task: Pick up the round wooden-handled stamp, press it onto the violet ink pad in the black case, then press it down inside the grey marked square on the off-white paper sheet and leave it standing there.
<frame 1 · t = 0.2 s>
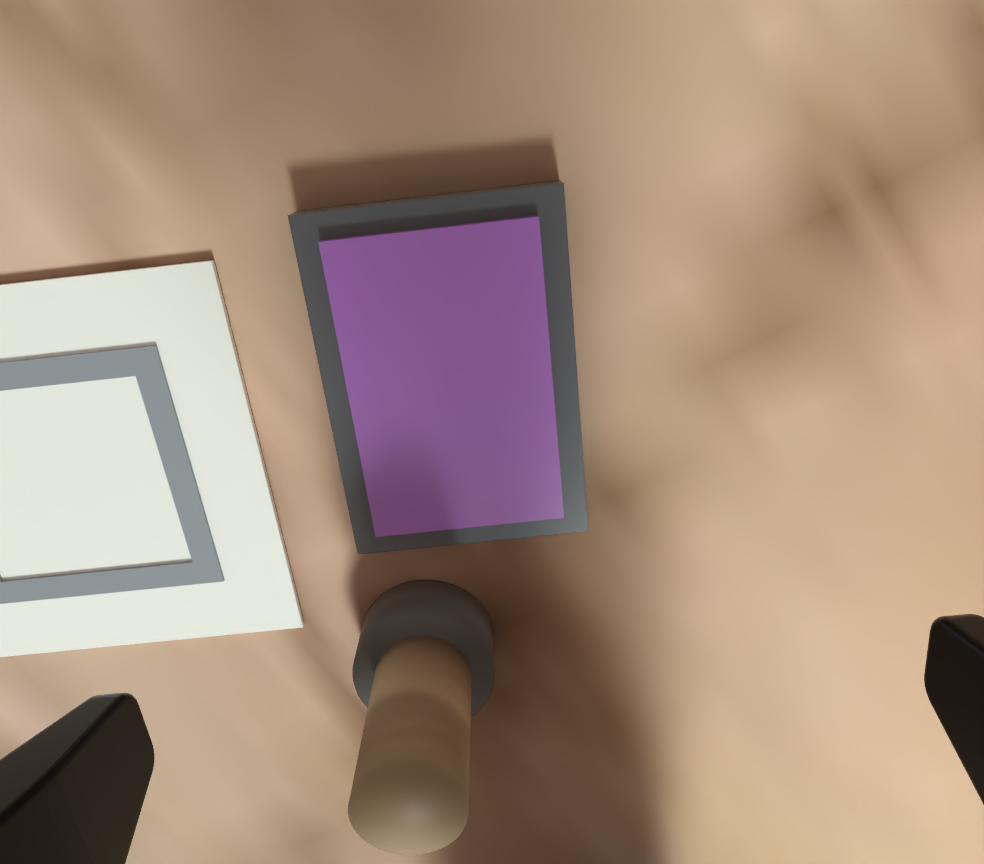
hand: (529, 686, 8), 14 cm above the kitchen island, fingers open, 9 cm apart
stamp: (428, 635, 25), on the kitchen island
sheet: (69, 480, 23), on the kitchen island
ink pad: (452, 375, 22), on the kitchen island
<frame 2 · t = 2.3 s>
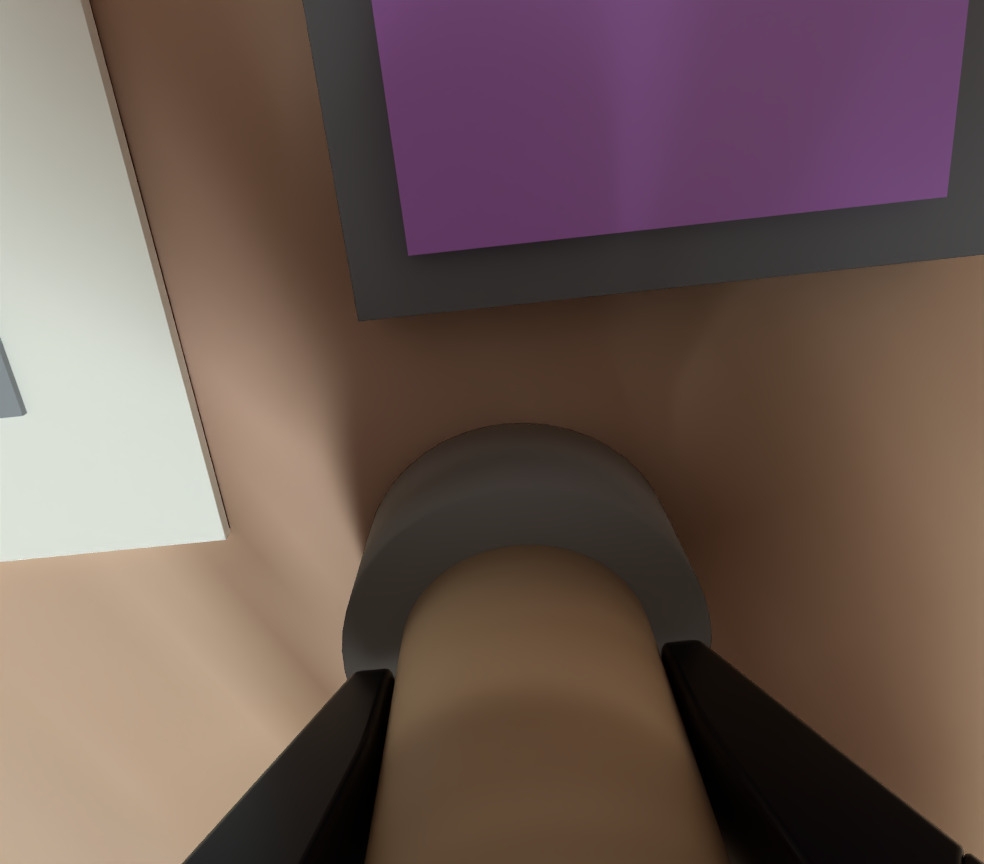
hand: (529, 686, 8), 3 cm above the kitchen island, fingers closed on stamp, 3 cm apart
stamp: (519, 565, 11), on the kitchen island, touching gripper
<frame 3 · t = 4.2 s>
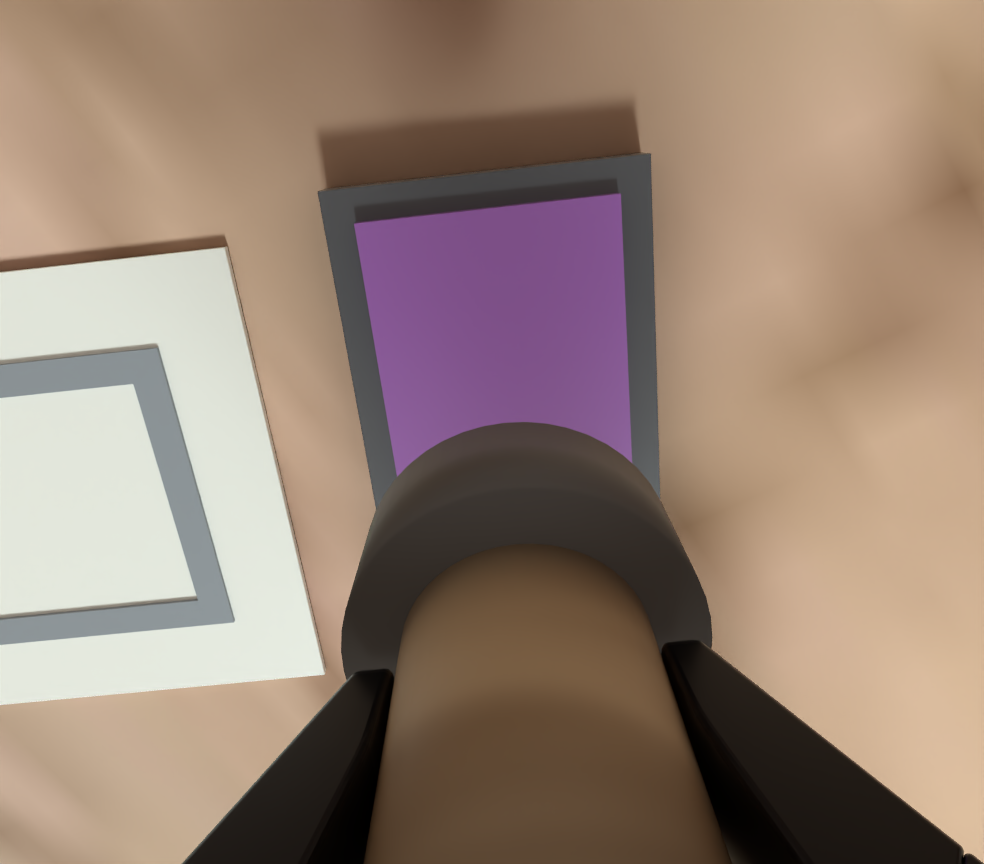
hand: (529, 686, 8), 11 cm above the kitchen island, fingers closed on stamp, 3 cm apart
stamp: (519, 564, 11), point 8 cm above the kitchen island, touching gripper
sheet: (55, 505, 20), on the kitchen island
ink pad: (505, 384, 18), on the kitchen island
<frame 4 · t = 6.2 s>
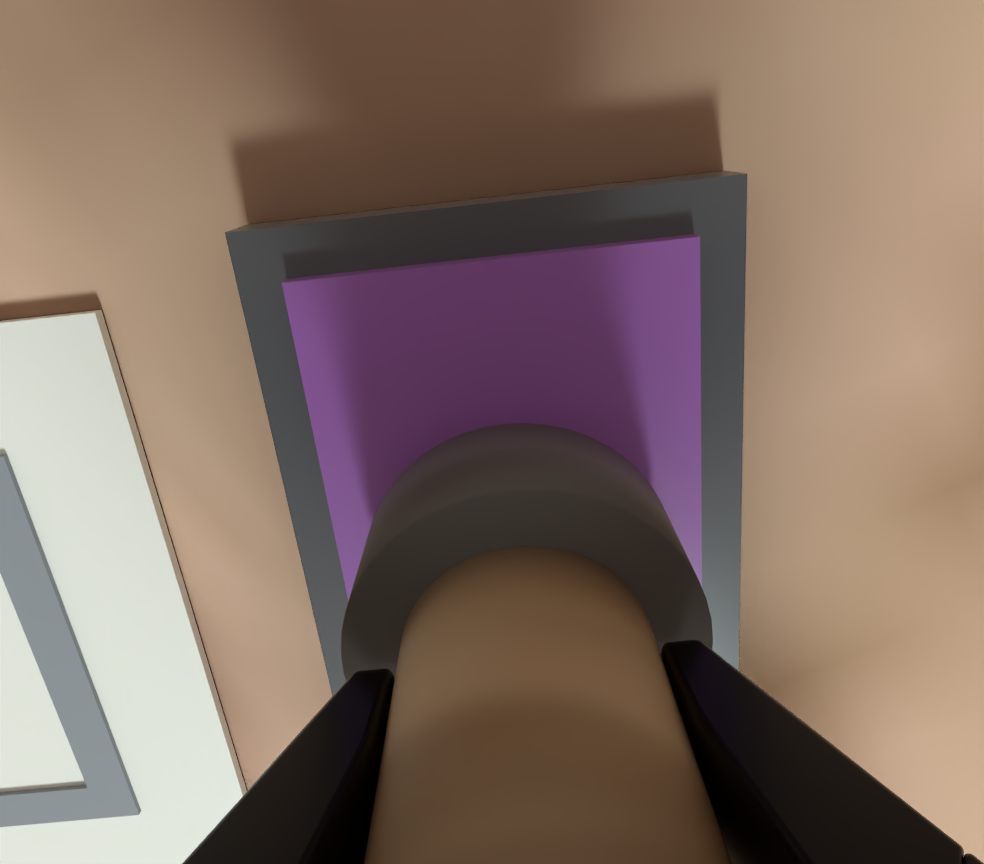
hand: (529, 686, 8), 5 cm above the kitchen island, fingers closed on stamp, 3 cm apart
stamp: (519, 566, 11), point 2 cm above the kitchen island, touching gripper
ink pad: (516, 503, 13), on the kitchen island
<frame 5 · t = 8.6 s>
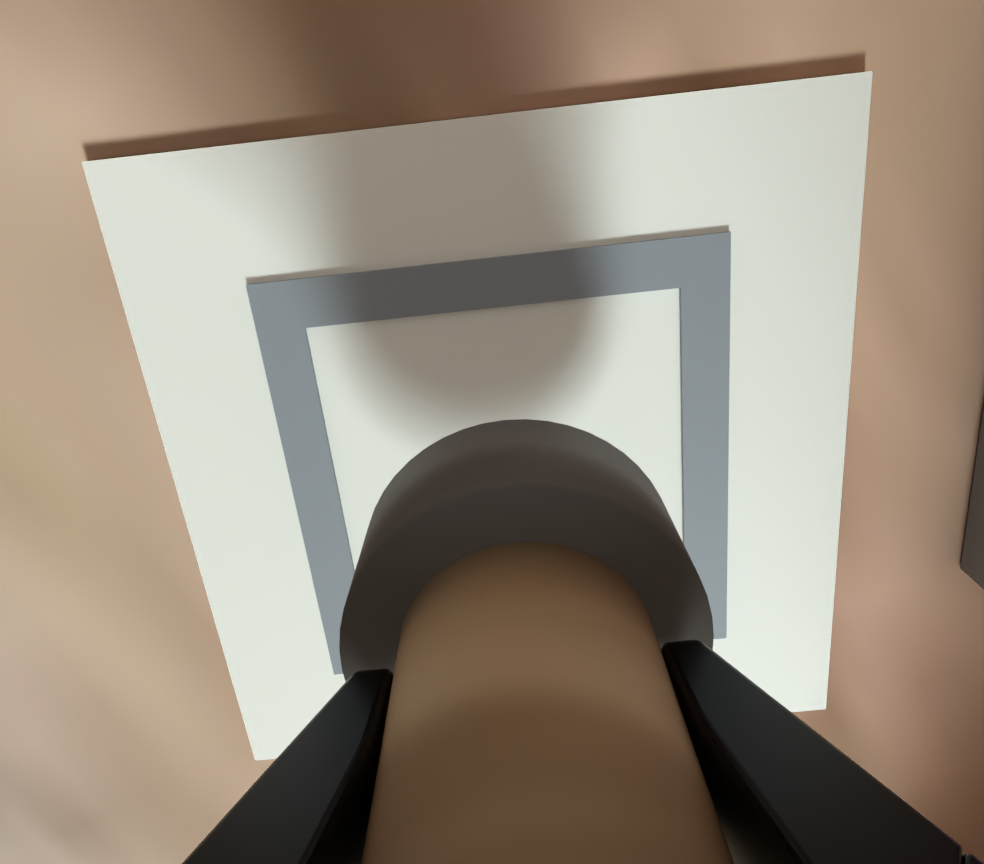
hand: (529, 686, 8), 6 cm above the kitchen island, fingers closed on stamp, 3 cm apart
stamp: (519, 563, 11), point 3 cm above the kitchen island, touching gripper
sheet: (509, 471, 14), on the kitchen island
when the fingers open (3 cm above the kitchen island, at t = 10.4 s): stamp stays where it is, resting on sheet.
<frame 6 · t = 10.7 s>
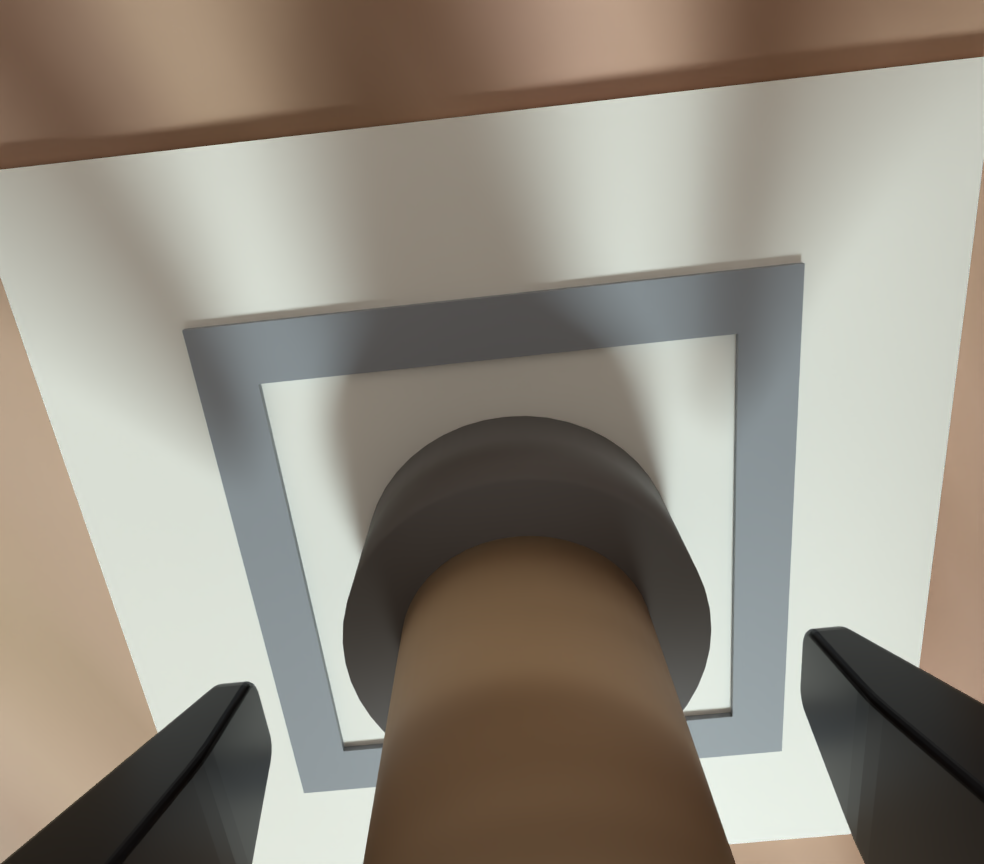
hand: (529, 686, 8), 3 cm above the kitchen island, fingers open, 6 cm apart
stamp: (519, 558, 11), resting on sheet
sheet: (517, 555, 11), on the kitchen island
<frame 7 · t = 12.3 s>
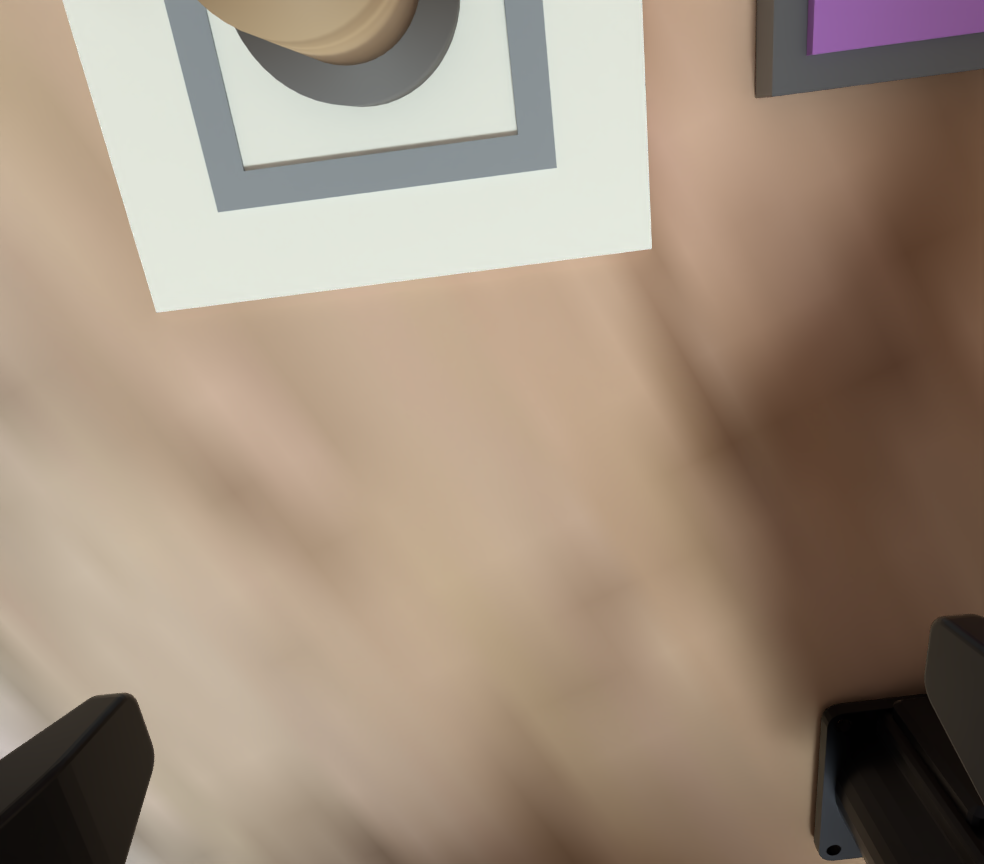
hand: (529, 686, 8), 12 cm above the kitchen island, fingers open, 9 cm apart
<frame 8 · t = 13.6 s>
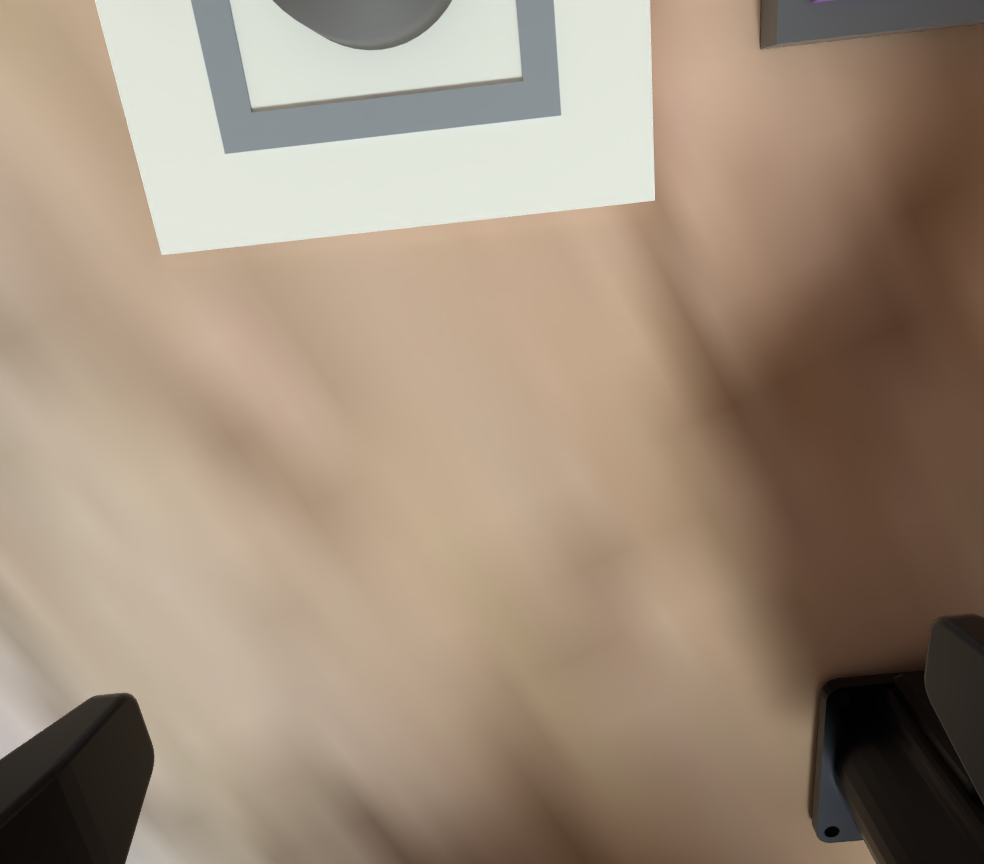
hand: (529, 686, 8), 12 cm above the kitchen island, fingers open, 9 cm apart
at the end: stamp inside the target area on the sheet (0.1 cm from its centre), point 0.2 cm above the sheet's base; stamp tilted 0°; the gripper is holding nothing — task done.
